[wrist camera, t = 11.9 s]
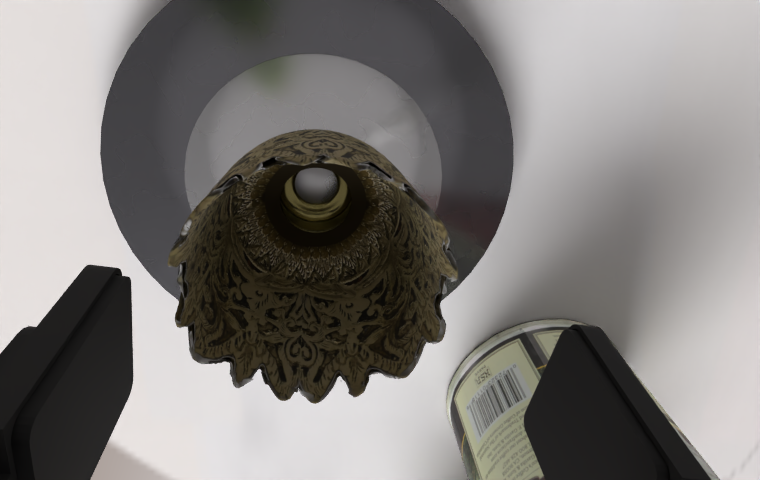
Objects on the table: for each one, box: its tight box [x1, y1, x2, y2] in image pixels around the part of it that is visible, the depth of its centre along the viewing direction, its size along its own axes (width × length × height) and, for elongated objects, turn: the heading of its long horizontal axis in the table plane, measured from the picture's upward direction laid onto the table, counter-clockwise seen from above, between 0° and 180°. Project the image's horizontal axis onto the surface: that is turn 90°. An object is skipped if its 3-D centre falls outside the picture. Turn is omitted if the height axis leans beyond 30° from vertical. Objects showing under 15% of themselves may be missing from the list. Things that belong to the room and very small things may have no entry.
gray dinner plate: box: [100, 0, 513, 301], centre depth 21 cm, size 16×16×2 cm
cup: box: [167, 129, 458, 404], centre depth 17 cm, size 8×7×8 cm
